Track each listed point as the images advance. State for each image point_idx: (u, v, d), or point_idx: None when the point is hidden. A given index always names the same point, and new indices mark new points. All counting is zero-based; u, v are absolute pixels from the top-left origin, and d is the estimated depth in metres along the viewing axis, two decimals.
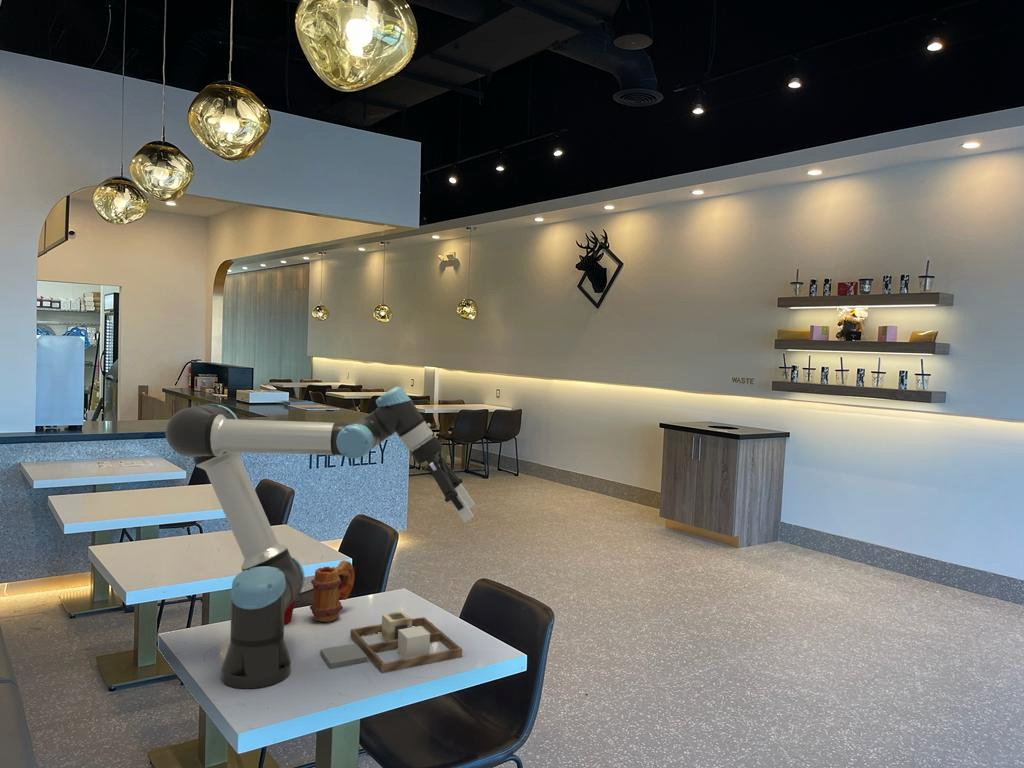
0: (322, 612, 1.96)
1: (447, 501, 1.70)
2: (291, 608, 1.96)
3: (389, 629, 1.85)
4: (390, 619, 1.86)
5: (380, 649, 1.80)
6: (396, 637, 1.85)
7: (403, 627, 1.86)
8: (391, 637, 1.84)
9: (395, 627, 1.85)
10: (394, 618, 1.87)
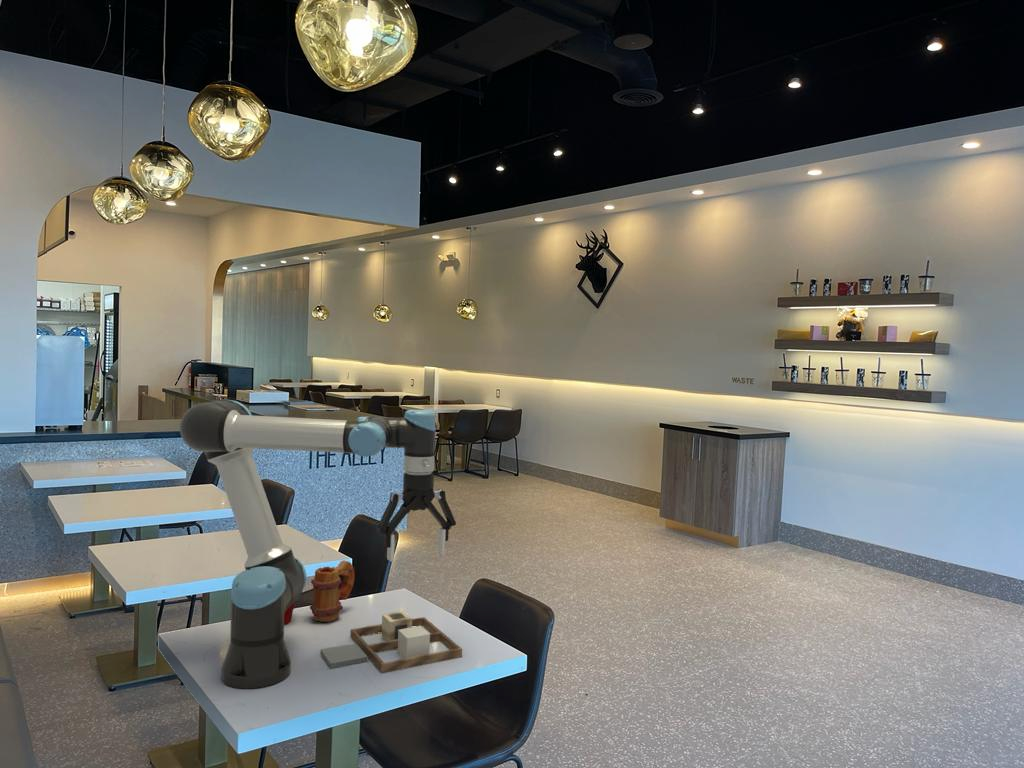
0: (322, 612, 1.96)
1: None
2: (291, 608, 1.96)
3: (389, 629, 1.85)
4: (390, 619, 1.86)
5: (380, 649, 1.80)
6: (396, 637, 1.85)
7: (403, 627, 1.86)
8: (391, 637, 1.84)
9: (395, 627, 1.85)
10: (394, 618, 1.87)
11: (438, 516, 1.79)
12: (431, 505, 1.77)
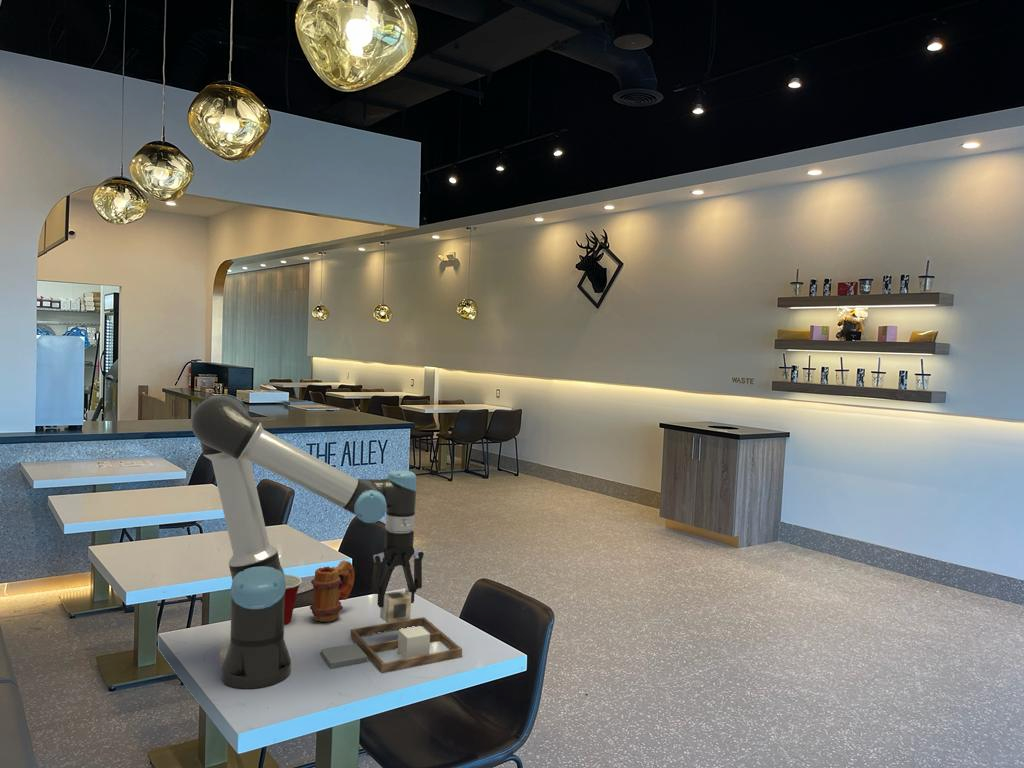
0: (322, 612, 1.96)
1: None
2: (291, 608, 1.96)
3: (388, 608, 1.84)
4: (389, 598, 1.86)
5: (380, 649, 1.80)
6: (395, 616, 1.85)
7: (402, 606, 1.86)
8: (390, 616, 1.84)
9: (394, 606, 1.85)
10: (394, 597, 1.87)
11: (409, 576, 1.88)
12: (407, 563, 1.87)
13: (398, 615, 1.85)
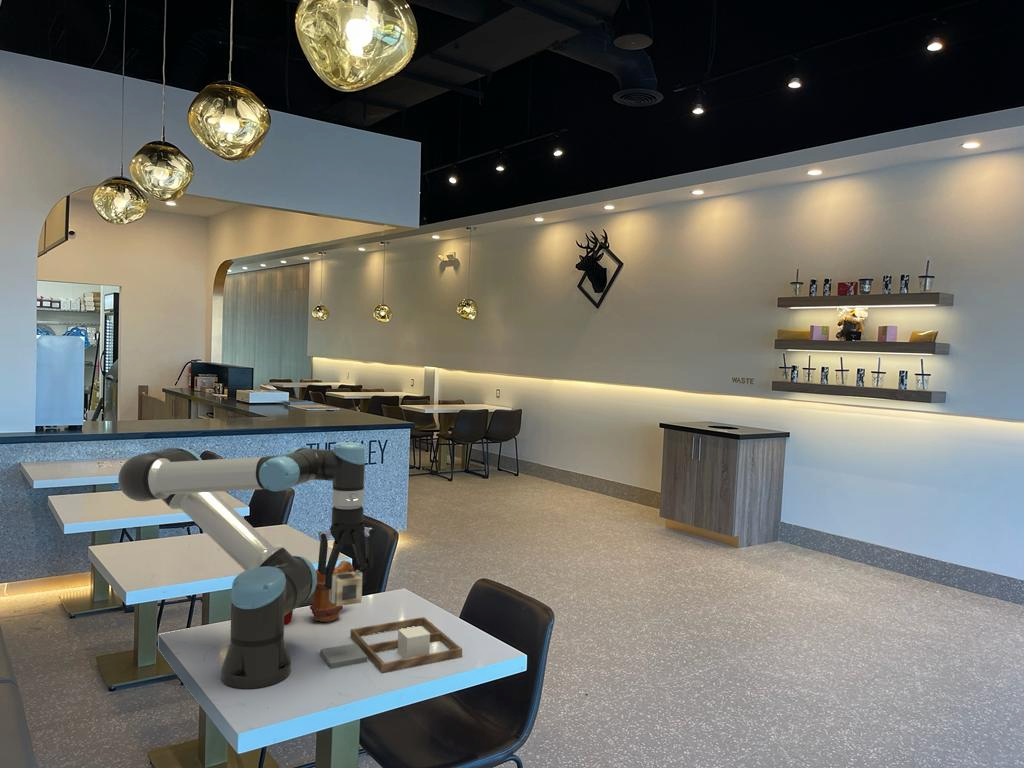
0: (322, 612, 1.96)
1: None
2: None
3: (336, 589, 1.71)
4: (338, 579, 1.72)
5: (380, 649, 1.80)
6: (344, 598, 1.71)
7: (352, 587, 1.72)
8: (338, 598, 1.71)
9: (342, 587, 1.71)
10: (343, 577, 1.73)
11: (359, 555, 1.75)
12: (357, 541, 1.74)
13: (348, 597, 1.72)
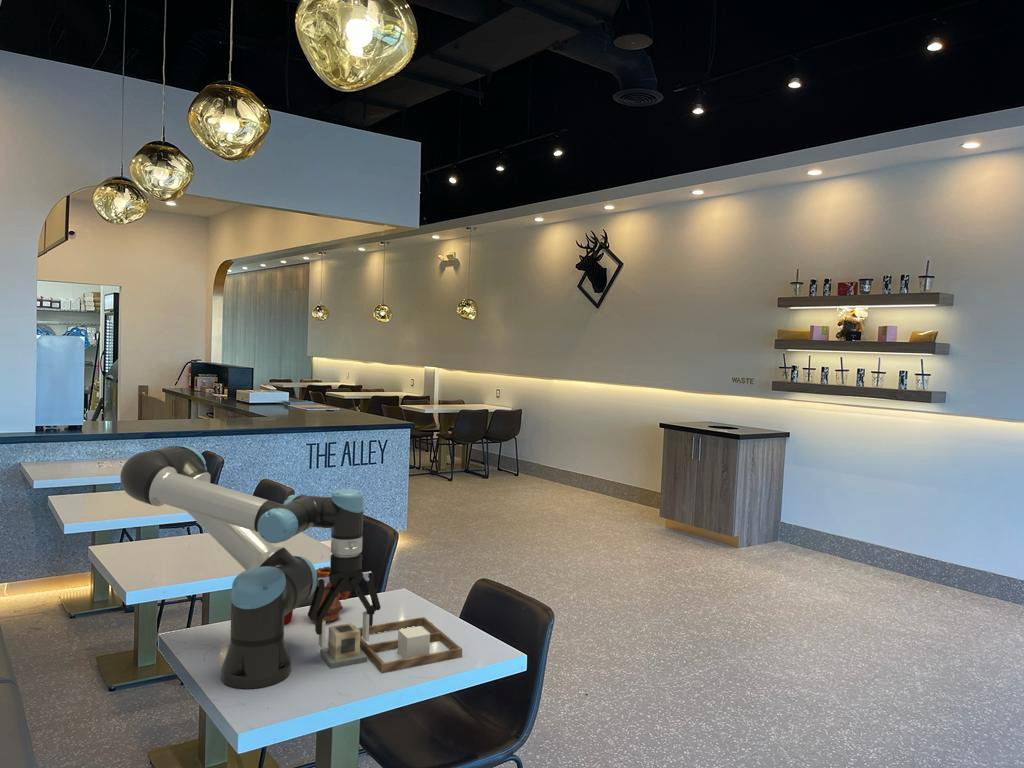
0: None
1: None
2: None
3: (335, 643, 1.71)
4: (337, 632, 1.73)
5: (380, 649, 1.80)
6: (343, 651, 1.72)
7: (350, 640, 1.73)
8: (337, 651, 1.71)
9: (341, 641, 1.72)
10: (341, 630, 1.74)
11: (363, 599, 1.76)
12: (358, 587, 1.75)
13: (347, 650, 1.73)
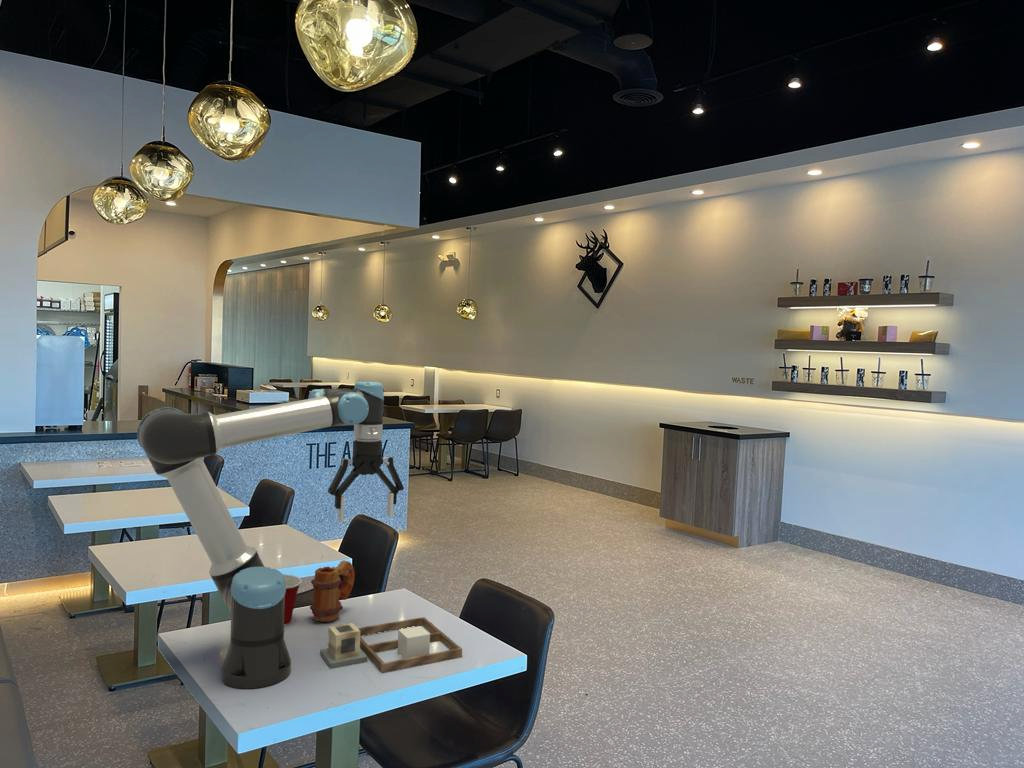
0: (322, 612, 1.96)
1: None
2: (291, 608, 1.96)
3: (335, 643, 1.71)
4: (337, 632, 1.73)
5: (380, 649, 1.80)
6: (343, 651, 1.72)
7: (350, 640, 1.73)
8: (337, 651, 1.71)
9: (341, 641, 1.72)
10: (341, 630, 1.74)
11: (386, 481, 1.92)
12: (379, 470, 1.91)
13: (347, 650, 1.73)
